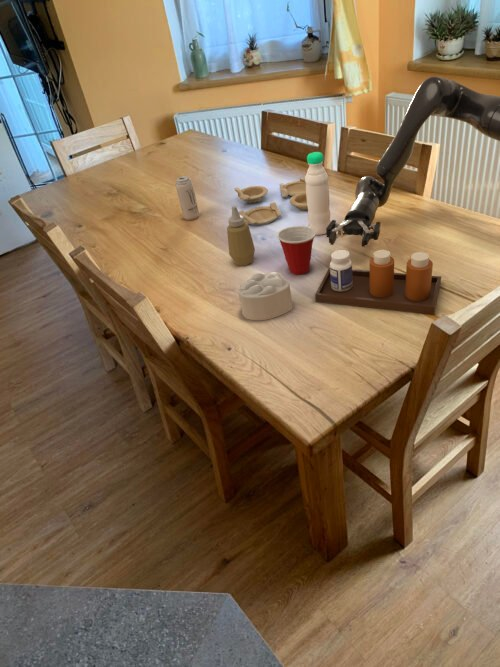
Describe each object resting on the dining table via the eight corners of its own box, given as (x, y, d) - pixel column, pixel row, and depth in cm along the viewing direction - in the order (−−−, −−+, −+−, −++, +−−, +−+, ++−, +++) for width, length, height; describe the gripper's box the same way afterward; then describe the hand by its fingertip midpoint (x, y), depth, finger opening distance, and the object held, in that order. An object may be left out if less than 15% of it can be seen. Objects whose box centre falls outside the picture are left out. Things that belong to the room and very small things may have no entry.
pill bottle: (353, 280, 134) (352, 248, 128) (351, 292, 130) (351, 259, 124) (332, 280, 136) (330, 248, 130) (329, 292, 132) (327, 260, 126)
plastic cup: (326, 265, 144) (323, 228, 137) (302, 283, 139) (298, 245, 131) (297, 256, 151) (294, 220, 143) (274, 272, 145) (268, 236, 138)
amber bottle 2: (431, 288, 126) (434, 250, 120) (428, 302, 122) (431, 263, 115) (407, 286, 129) (409, 249, 122) (403, 299, 125) (405, 261, 118)
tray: (440, 283, 129) (441, 276, 127) (433, 314, 119) (434, 307, 118) (329, 274, 140) (329, 267, 139) (315, 301, 131) (315, 294, 129)
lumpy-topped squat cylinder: (296, 309, 129) (293, 281, 124) (250, 326, 127) (245, 298, 121) (279, 291, 137) (276, 264, 132) (236, 306, 135) (231, 279, 129)
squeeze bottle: (248, 269, 149) (239, 214, 138) (226, 266, 153) (214, 211, 142) (261, 256, 154) (252, 201, 143) (239, 253, 158) (229, 199, 147)
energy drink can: (194, 221, 182) (184, 182, 172) (181, 220, 184) (170, 181, 175) (203, 214, 185) (194, 175, 176) (190, 213, 188) (180, 174, 179)
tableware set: (243, 231, 170) (241, 220, 167) (226, 200, 193) (224, 190, 190) (339, 206, 173) (339, 195, 171) (311, 179, 196) (311, 169, 194)
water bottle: (314, 224, 165) (308, 149, 150) (334, 226, 162) (330, 150, 147) (305, 234, 161) (298, 158, 146) (326, 236, 158) (321, 158, 142)
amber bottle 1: (395, 285, 130) (396, 248, 123) (391, 298, 126) (392, 260, 119) (372, 283, 132) (372, 246, 125) (367, 296, 128) (367, 259, 121)
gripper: (336, 202, 144) (320, 228, 132) (386, 203, 138) (374, 231, 127) (337, 226, 148) (322, 253, 137) (385, 228, 143) (374, 257, 131)
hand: (347, 242), depth 132 cm, fingers open, 8 cm apart
